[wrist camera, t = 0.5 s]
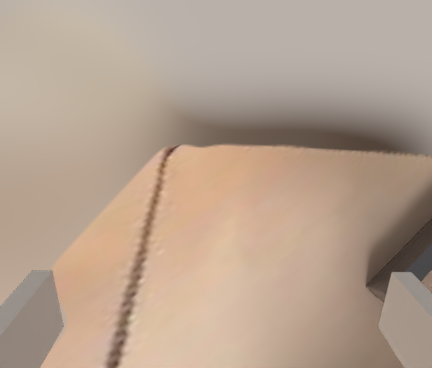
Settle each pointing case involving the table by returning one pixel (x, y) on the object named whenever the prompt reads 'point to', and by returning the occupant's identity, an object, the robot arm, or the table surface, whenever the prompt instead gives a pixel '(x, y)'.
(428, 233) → the end stop channel
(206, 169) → the table surface
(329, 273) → the table surface
